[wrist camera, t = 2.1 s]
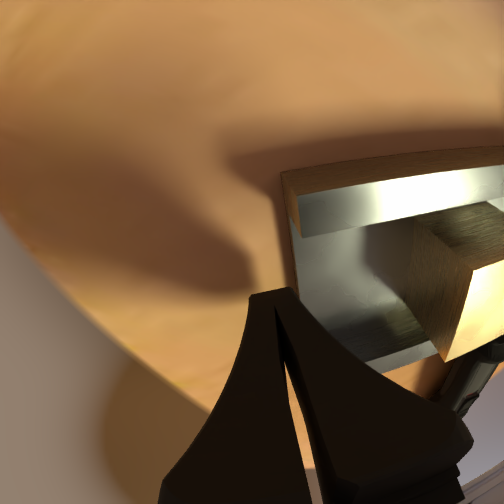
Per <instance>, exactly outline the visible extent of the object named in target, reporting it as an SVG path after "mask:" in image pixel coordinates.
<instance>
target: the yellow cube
mask: <svg viewBox="0 0 504 504" xmlns="http://www.w3.org/2000/svg"><path fill="white" fill-rule="evenodd" d="M405 304H406V306H407V307H408V308H409V310H410V311H411V313H412V314H413V316H414V317H415V318H416V320H417V321H418V323H419V324H420V326H421V327H422V329H423V330H424V332H425V333H426V335H427V336H428V338H429V339H430V341H431V342H432V344H433V345H434V347H435V348H436V350H437V351H438V353H439V354H440V356H441V357H442V359H443V361H444V362H447V361H450V360H452V359H454V358H456V357H459V356H461V355H463V354H465V353H467V352H469V351H471V350H473V349H476V348H478V347H480V346H482V345H484V344H486V343H488V342H490V341H491V340H493V339H495V338H497V337H499V336H501V335H503V334H504V212H502V211H501V210H499V209H498V208H496V207H495V206H493V205H492V204H490V203H489V202H485V203H480V204H475V205H471V206H466V207H461V208H456V209H451V210H447V211H442V212H437V213H432V214H428V215H423V216H418V217H414V227H413V240H412V251H411V261H410V269H409V277H408V285H407V292H406V299H405Z"/></svg>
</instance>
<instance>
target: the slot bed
mask: <svg viewBox="0 0 504 504" xmlns="http://www.w3.org/2000/svg"><path fill="white" fill-rule="evenodd" d="M281 179H282V186H283V192H284V199H285V206H286V212H287V219H288V226H289V234H290V241H291V248H292V256H293V263H294V271H295V279H296V287H297V295H298V298H299V299H300V301H301V302H302V303H303V304H304V306H305V307H306V308H307V309H308V310H309V312H310V313H311V314H312V315H313V316H314V317H315V318H316V319H317V320H318V321H319V322H320V324H321V325H322V326H323V327H324V328H325V329H326V330H327V331H328V332H329V333H330V334H331V335H332V336H333V337H335V338H336V339H337V340H338V341H339V342H340V343H341V344H342V345H343V346H344V347H346V348H347V349H348V350H349V351H350V352H352V353H353V354H354V355H355V356H357V357H358V358H359V359H360V360H362V361H363V362H364V363H366V364H367V365H369V366H370V367H371V368H373V369H374V370H376V371H377V372H379V373H380V374H382V373H385V372H388V371H391V370H394V369H397V368H400V367H402V366H405V365H408V364H411V363H413V362H416V361H419V360H421V359H424V358H426V357H429V356H431V355H434V354H436V353H438V351H437V350H436V348H435V347H434V345H433V344H432V342H431V341H430V339H429V338H428V336H427V335H426V333H425V332H424V330H423V329H422V327H421V326H420V324H419V323H418V321H417V320H416V318H415V317H414V316H413V314H412V313H411V311H410V310H409V308H408V307H407V306H406V304H405V299H406V292H407V285H408V277H409V269H410V261H411V251H412V240H413V227H414V217H418V216H423V215H428V214H432V213H437V212H442V211H447V210H451V209H456V208H461V207H466V206H471V205H475V204H480V203H485V202H489V203H490V204H492V205H493V206H495V207H496V208H498V209H499V210H501V211H502V212H504V146H494V147H476V148H462V149H449V150H438V151H427V152H417V153H408V154H399V155H391V156H383V157H375V158H368V159H361V160H354V161H347V162H340V163H334V164H327V165H321V166H315V167H309V168H303V169H298V170H292V171H286V172H281Z"/></svg>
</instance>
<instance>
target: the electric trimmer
mask: <svg viewBox="0 0 504 504" xmlns="http://www.w3.org/2000/svg"><path fill="white" fill-rule="evenodd" d="M503 361H504V334H503V335H501V336H499V337H497V338H495V339H493V340H491V341H490V342H488V343H486V344H484V345H482V346H480V347H478V348H476V349H473V350H471V351H469V352H467V353H465V354H463V355H461V356H459V357H457V358H456V360H455V362H454V364H453V366H452V368H451V371H450V373H449V375H448V377H447V379H446V381H445V383H444V385H443V386H442V388H441V390H439V391H438V392H437V393H435V394H434V395H433V396H432V397H431V398H430V399H429V401H431V402H433V403H436V404H438V405H440V406H443V407H445V408H448V409H450V410H453V411H456V413H457V414H458V415H459V417H460V418H461V419H462V418H463V417H464V416H465V415H466V413H467V412H468V410H469V408H470V406H471V405H472V404H473V403H474V401H475V400H476V399H477V398H478V397H479V393H480V392H481V391H482V389H483V388H484V386H485V385H486V383H487V382H488V380H489V379H490V377H491V376H492V374H493V373H494V371H495V369H496V368H497V366H498V365H499V363H501V362H503Z"/></svg>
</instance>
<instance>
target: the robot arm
mask: <svg viewBox="0 0 504 504" xmlns="http://www.w3.org/2000/svg"><path fill="white" fill-rule="evenodd" d="M284 362H285V364H284ZM285 365H286V368H287V371H288V374H289V376H290V379H291V382H292V385H293V388H294V391H295V394H296V397H297V400H298V403H299V405H300V408H301V411H302V414H303V418H304V421H305V424H306V428H307V433H308V437H309V441H310V446H311V450H312V455H313V459H314V464H315V468H316V473H317V477H318V482H319V486H320V491H321V495H322V501H323V504H504V460H503V461H502V462H501V463H499V464H498V465H496V466H495V467H493V468H492V469H490V470H489V471H487V472H485V473H484V474H482V475H480V476H479V477H477V478H475V479H474V480H472V481H470V482H469V483H467V484H465V485H463V486H460V484H459V481H458V479H457V477H458V476H460V471H459V469H458V467H457V465H456V464H457V463H458V462H459V461H460V460H461V459H462V458H463V457H464V456H465V455H466V454H467V453H468V452H469V450H470V449H471V448H472V446H473V442H474V440H473V438H472V436H471V434H470V432H469V430H468V428H467V427H466V425H465V423H464V422H463V421H462V419H461V418H460V417H459V415H458V414H457V413H456V411H453V410H450V409H448V408H445V407H443V406H440V405H438V404H436V403H433V402H431V401H429V400H427V399H424V398H422V397H420V396H419V395H417V394H415V393H413V392H411V391H409V390H407V389H405V388H403V387H402V386H400V385H398V384H397V383H395V382H393V381H392V380H390V379H388V378H387V377H385V376H383V375H382V374H380V373H379V372H377V371H376V370H374V369H373V368H371V367H370V366H369V365H367V364H366V363H364V362H363V361H362V360H360V359H359V358H358V357H357V356H355V355H354V354H353V353H352V352H350V351H349V350H348V349H347V348H346V347H344V346H343V345H342V344H341V343H340V342H339V341H338V340H337V339H336V338H335V337H333V336H332V335H331V334H330V333H329V332H328V331H327V330H326V329H325V328H324V327H323V326H322V325H321V324H320V322H319V321H318V320H317V319H316V318H315V317H314V316H313V315H312V314H311V313H310V312H309V310H308V309H307V308H306V307H305V306H304V304H303V303H302V302H301V301H300V299H299V298H298V296H297V295H296V294H295V292H294V291H293V289H292V288H290V287H285V288H280V289H276V290H271V291H266V292H261V293H257V294H252V295H251V296H250V297H249V306H248V314H247V319H246V324H245V329H244V332H243V336H242V340H241V344H240V347H239V350H238V353H237V356H236V359H235V362H234V365H233V368H232V370H231V373H230V375H229V377H228V380H227V382H226V384H225V387H224V389H223V391H222V393H221V395H220V397H219V399H218V401H217V403H216V405H215V407H214V408H213V410H212V412H211V414H210V416H209V417H208V419H207V421H206V423H205V424H204V426H203V427H202V429H201V430H200V432H199V433H198V435H197V436H196V438H195V439H194V441H193V442H192V444H191V445H190V447H189V448H188V449H187V451H186V452H185V453H184V455H183V456H182V457H181V458H180V459H179V461H178V462H177V463H176V464H175V466H174V467H173V468H172V469H171V470H170V472H169V473H168V474H167V475H166V476H165V478H164V479H163V481H162V484H161V488H160V493H159V499H158V504H312V500H311V495H310V490H309V486H308V482H307V478H306V474H305V469H304V465H303V461H302V456H301V452H300V448H299V444H298V439H297V435H296V431H295V426H294V422H293V418H292V413H291V409H290V405H289V398H288V389H287V380H286V372H285Z"/></svg>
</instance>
